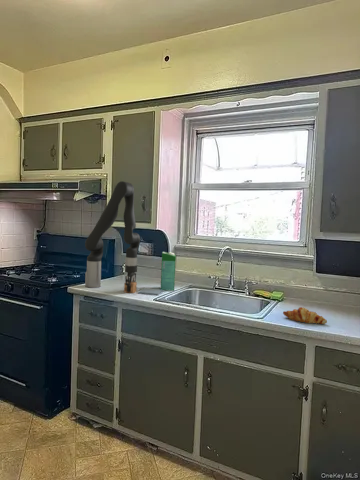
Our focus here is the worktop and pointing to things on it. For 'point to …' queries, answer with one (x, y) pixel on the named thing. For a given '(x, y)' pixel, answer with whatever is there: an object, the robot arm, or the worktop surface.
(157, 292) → the slate mat
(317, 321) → the croissant
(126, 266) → the robot arm
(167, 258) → the milk carton
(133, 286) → the wood block
